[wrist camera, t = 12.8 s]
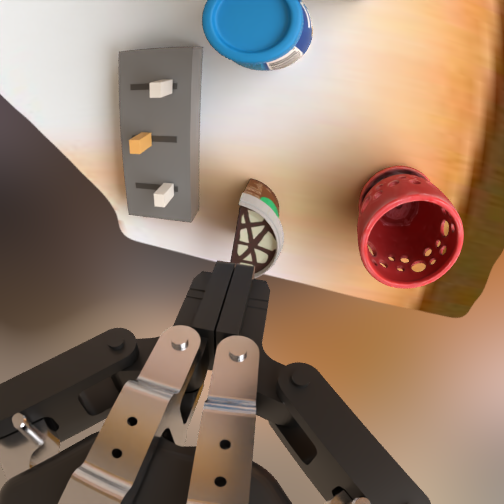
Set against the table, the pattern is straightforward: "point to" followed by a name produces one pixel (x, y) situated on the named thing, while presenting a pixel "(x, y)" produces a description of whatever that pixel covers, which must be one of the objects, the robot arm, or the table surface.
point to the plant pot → (406, 228)
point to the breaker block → (161, 129)
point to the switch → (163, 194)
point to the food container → (258, 229)
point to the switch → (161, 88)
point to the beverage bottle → (258, 31)
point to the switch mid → (140, 143)
